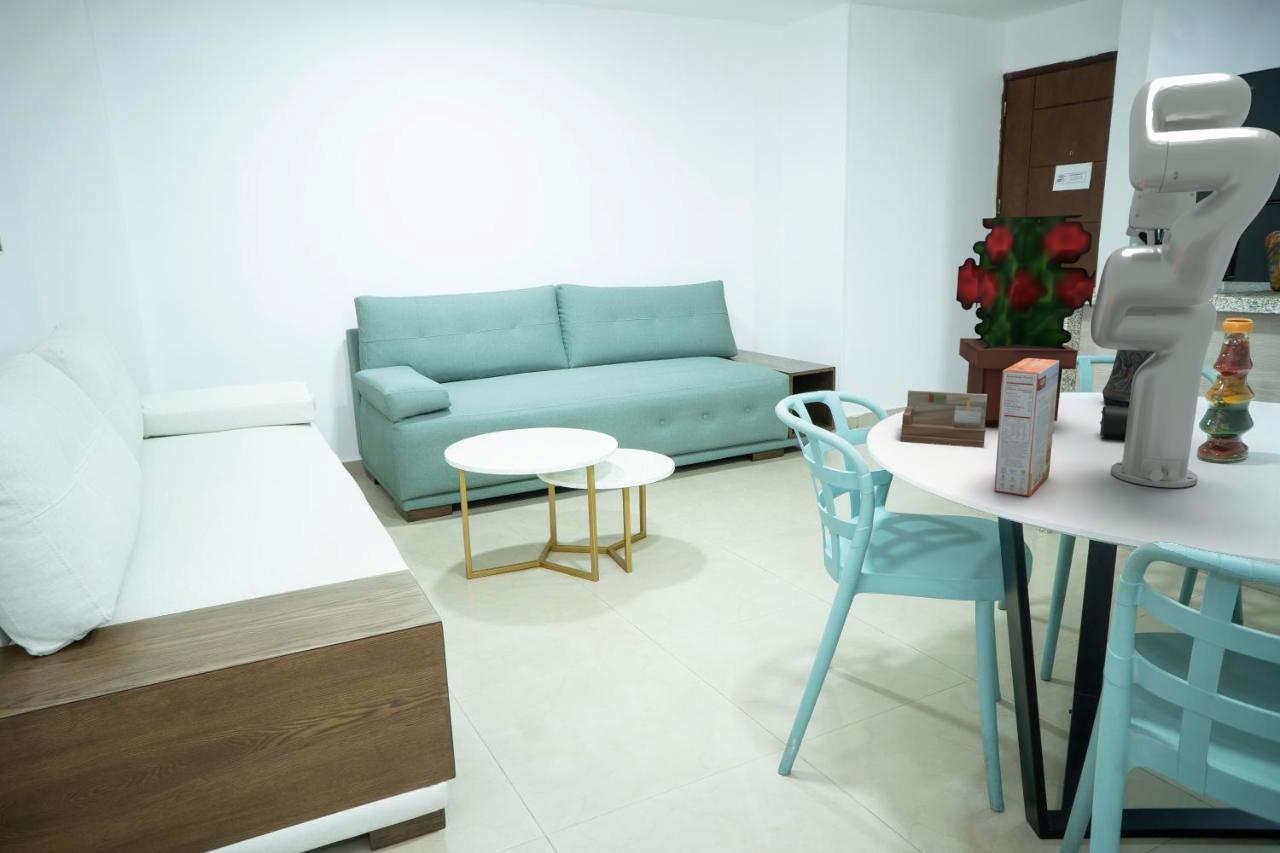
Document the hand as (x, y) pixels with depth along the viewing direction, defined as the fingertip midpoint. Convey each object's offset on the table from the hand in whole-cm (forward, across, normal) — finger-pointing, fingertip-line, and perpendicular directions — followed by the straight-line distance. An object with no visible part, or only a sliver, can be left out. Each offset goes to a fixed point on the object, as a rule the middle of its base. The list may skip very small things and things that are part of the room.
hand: (1154, 267), depth 150 cm
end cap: (+35, -1, +3) cm, 35 cm away
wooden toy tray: (+35, -35, -7) cm, 50 cm away
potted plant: (+35, -23, +12) cm, 43 cm away
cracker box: (+36, -20, -36) cm, 55 cm away
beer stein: (+34, +6, +38) cm, 51 cm away
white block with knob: (+34, -31, -7) cm, 46 cm away
